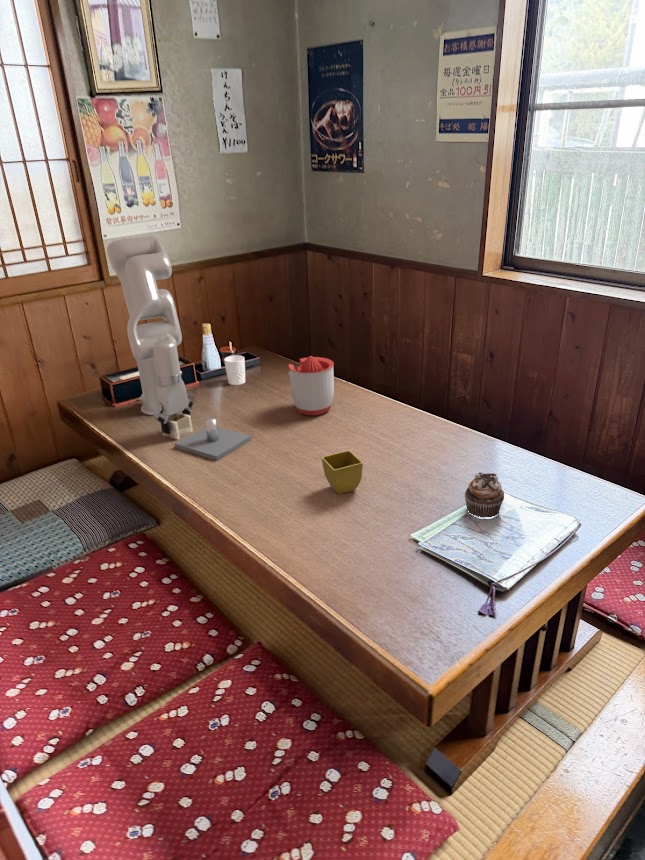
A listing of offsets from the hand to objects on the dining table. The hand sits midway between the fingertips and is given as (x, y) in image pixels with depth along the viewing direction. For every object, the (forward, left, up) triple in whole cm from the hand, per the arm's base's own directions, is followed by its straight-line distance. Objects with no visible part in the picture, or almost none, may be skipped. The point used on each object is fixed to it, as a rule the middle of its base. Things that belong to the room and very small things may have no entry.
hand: (177, 427), depth 210 cm
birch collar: (0, 0, -2) cm, 2 cm away
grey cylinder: (+16, 0, -1) cm, 16 cm away
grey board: (+16, 0, -2) cm, 16 cm away
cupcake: (+104, +5, -3) cm, 104 cm away
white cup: (-14, +46, -3) cm, 49 cm away
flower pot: (+67, -3, -3) cm, 67 cm away
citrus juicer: (+28, +38, -3) cm, 47 cm away
